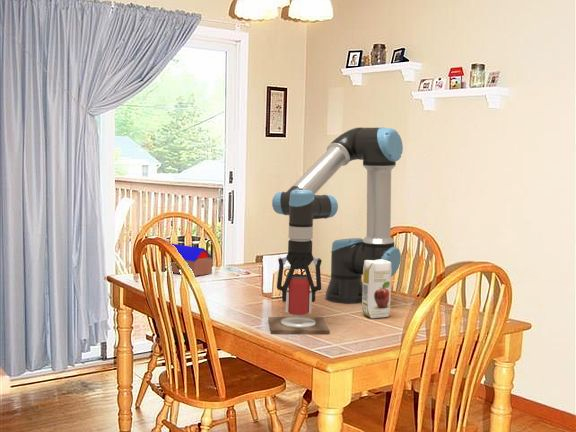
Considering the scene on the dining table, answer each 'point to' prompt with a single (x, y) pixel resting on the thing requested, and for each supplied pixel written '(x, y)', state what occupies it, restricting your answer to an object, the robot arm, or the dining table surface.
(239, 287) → the dining table surface
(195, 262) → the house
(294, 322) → the ceramic disc
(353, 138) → the robot arm
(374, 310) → the juice carton
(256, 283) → the dining table surface
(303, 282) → the beer can
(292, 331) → the walnut board
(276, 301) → the dining table surface
